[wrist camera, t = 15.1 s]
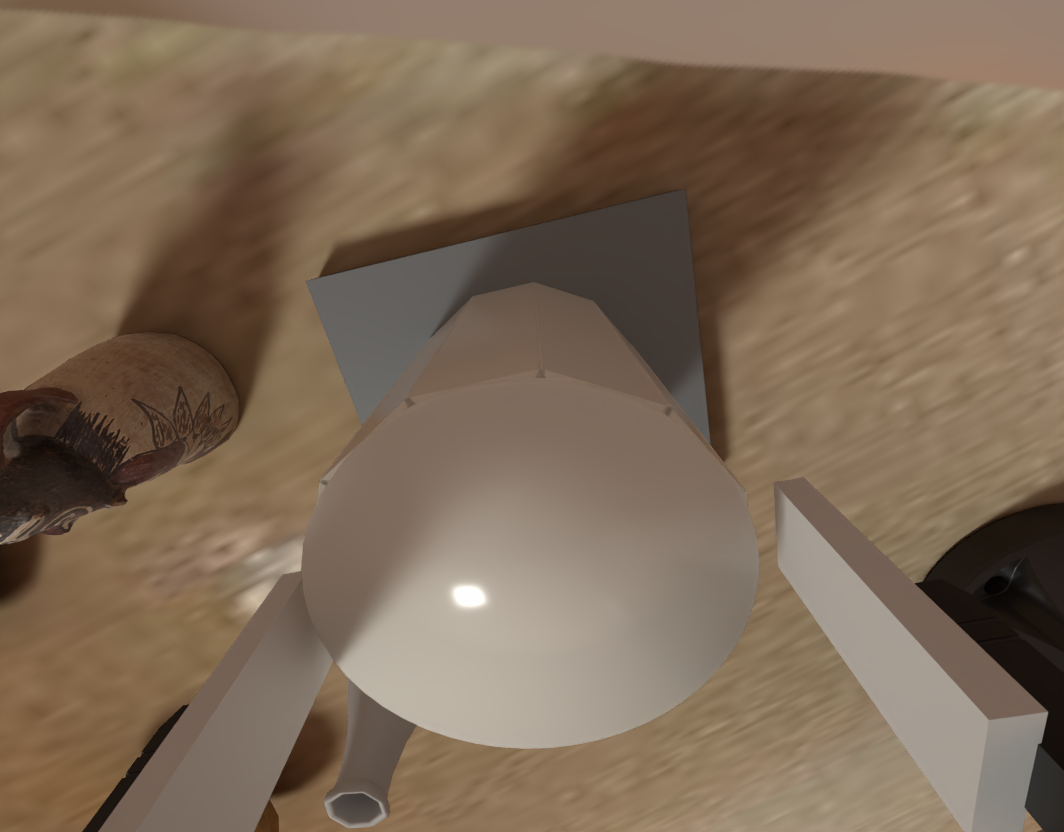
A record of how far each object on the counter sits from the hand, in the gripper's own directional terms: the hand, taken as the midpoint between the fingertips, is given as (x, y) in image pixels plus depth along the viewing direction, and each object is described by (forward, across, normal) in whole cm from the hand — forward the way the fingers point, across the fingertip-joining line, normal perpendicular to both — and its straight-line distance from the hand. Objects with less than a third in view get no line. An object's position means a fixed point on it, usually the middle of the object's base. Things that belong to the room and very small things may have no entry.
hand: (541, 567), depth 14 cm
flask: (+15, +13, +16) cm, 26 cm away
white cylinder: (+13, 0, -1) cm, 13 cm away
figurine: (+14, +19, -5) cm, 25 cm away
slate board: (+14, 0, -1) cm, 14 cm away
